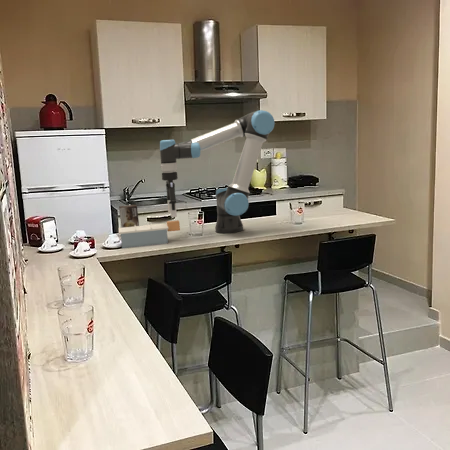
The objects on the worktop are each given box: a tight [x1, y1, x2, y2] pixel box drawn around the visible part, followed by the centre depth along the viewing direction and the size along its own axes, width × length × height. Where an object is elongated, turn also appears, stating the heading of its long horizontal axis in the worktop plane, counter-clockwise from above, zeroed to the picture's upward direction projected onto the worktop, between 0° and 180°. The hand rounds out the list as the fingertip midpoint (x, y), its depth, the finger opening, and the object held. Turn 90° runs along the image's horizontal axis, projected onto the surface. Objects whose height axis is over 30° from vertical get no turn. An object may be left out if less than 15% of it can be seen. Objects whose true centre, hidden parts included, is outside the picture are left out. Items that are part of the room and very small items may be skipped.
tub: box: [120, 229, 169, 249], centre depth 256 cm, size 22×12×8 cm, turn 101°
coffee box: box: [118, 204, 140, 228], centre depth 286 cm, size 9×6×16 cm
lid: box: [118, 219, 181, 235], centre depth 256 cm, size 30×13×4 cm, turn 101°
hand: (172, 214), depth 257 cm, fingers open, 13 cm apart
